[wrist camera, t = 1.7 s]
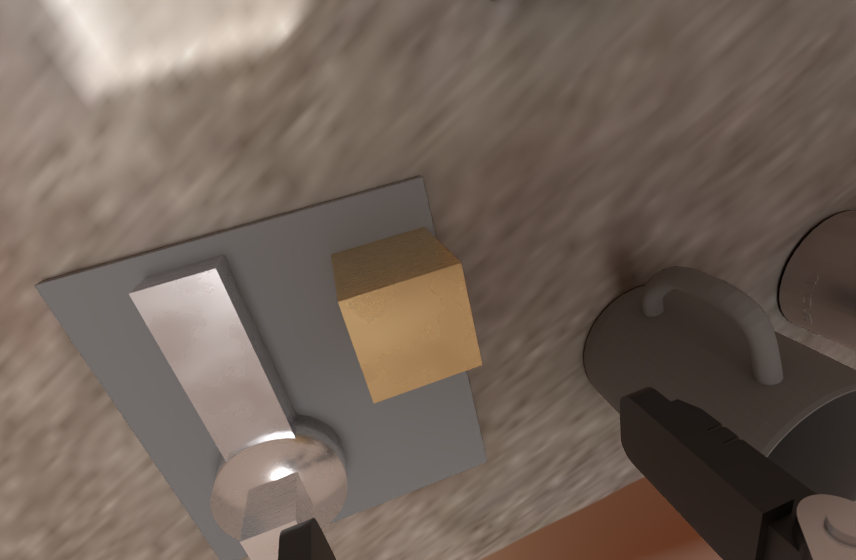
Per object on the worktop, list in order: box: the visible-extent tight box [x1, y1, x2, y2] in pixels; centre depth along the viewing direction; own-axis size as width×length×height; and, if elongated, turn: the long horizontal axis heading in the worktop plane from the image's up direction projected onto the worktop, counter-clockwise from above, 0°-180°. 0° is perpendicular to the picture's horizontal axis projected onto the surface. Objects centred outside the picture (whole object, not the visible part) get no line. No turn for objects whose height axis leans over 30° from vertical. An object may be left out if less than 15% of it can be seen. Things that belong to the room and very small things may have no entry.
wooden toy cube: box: [331, 227, 482, 403], centre depth 20 cm, size 5×5×6 cm
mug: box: [584, 266, 856, 502], centre depth 23 cm, size 14×9×12 cm
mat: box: [34, 175, 487, 560], centre depth 24 cm, size 18×20×1 cm
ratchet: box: [129, 255, 347, 560], centre depth 21 cm, size 7×16×6 cm, turn 13°
